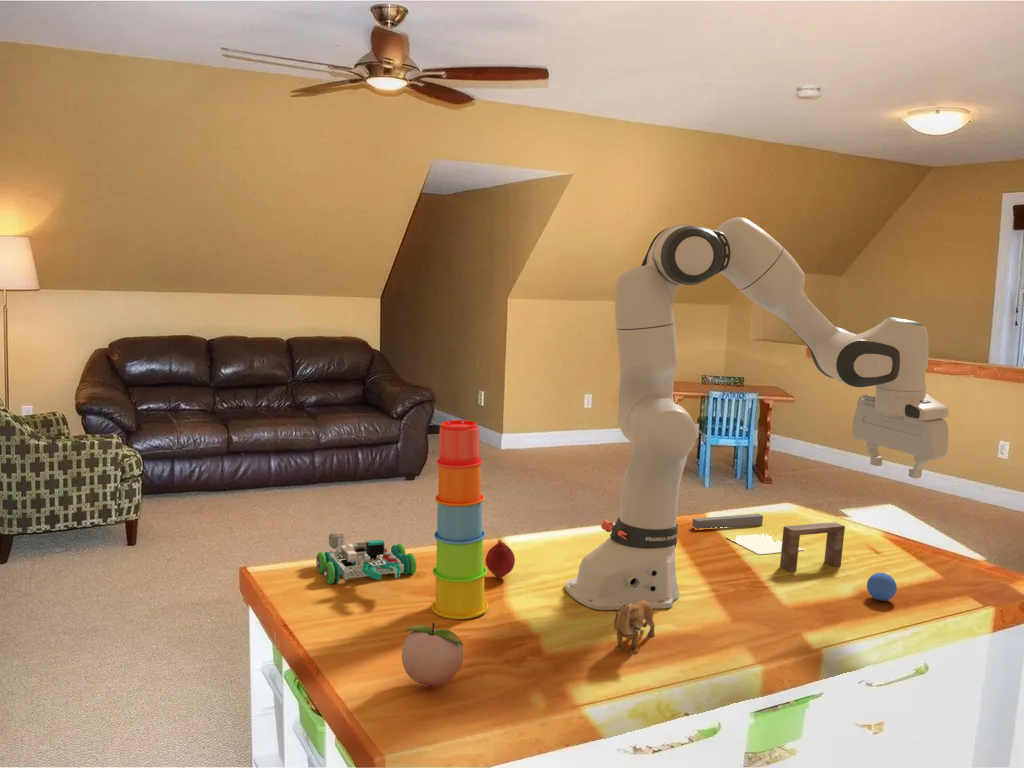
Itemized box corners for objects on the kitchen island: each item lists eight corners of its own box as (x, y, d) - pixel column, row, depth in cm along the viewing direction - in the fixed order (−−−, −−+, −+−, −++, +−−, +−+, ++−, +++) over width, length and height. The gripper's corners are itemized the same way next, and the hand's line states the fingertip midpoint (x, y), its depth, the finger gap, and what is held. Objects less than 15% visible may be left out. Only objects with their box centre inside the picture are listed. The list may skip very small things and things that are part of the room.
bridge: (840, 565, 193) (845, 526, 192) (789, 571, 188) (793, 530, 186) (831, 561, 196) (835, 522, 195) (779, 566, 190) (783, 526, 189)
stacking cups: (474, 624, 151) (484, 430, 147) (421, 613, 155) (429, 423, 150) (496, 604, 161) (505, 421, 156) (445, 594, 164) (453, 415, 160)
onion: (515, 574, 177) (517, 536, 176) (512, 584, 172) (514, 545, 171) (486, 571, 178) (488, 534, 177) (483, 581, 172) (485, 542, 171)
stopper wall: (696, 530, 214) (697, 520, 214) (692, 528, 216) (693, 518, 216) (762, 525, 222) (763, 515, 222) (757, 523, 224) (758, 513, 224)
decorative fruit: (391, 697, 125) (393, 631, 123) (407, 671, 133) (409, 609, 131) (454, 706, 123) (457, 639, 122) (467, 679, 131) (470, 616, 130)
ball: (880, 606, 170) (883, 579, 169) (859, 596, 175) (862, 569, 174) (901, 603, 172) (904, 576, 171) (880, 593, 177) (882, 567, 177)
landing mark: (759, 554, 198) (759, 554, 198) (724, 537, 210) (724, 536, 210) (804, 550, 203) (804, 549, 203) (767, 533, 215) (767, 533, 215)
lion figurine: (639, 665, 139) (643, 611, 138) (607, 658, 141) (611, 605, 140) (657, 631, 153) (661, 582, 152) (628, 625, 155) (631, 577, 153)
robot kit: (344, 611, 155) (346, 561, 154) (310, 565, 177) (311, 521, 176) (440, 598, 164) (443, 550, 162) (396, 556, 186) (398, 513, 184)
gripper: (846, 394, 175) (842, 460, 178) (931, 413, 157) (926, 487, 159) (870, 391, 177) (866, 456, 180) (956, 410, 159) (950, 482, 162)
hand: (894, 471), depth 169 cm, fingers open, 8 cm apart
